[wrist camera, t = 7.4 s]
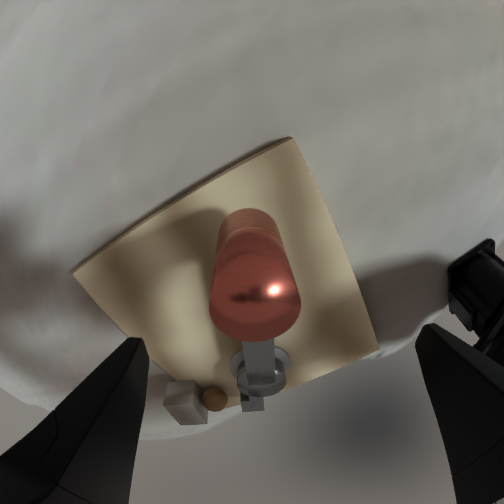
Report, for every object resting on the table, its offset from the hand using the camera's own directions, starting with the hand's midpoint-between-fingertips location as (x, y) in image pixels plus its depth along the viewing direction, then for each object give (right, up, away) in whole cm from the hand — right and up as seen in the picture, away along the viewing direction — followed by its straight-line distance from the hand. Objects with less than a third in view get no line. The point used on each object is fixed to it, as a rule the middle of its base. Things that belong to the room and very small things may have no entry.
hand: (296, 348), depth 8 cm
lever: (-1, -3, +12) cm, 12 cm away
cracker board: (-3, -3, +14) cm, 15 cm away
